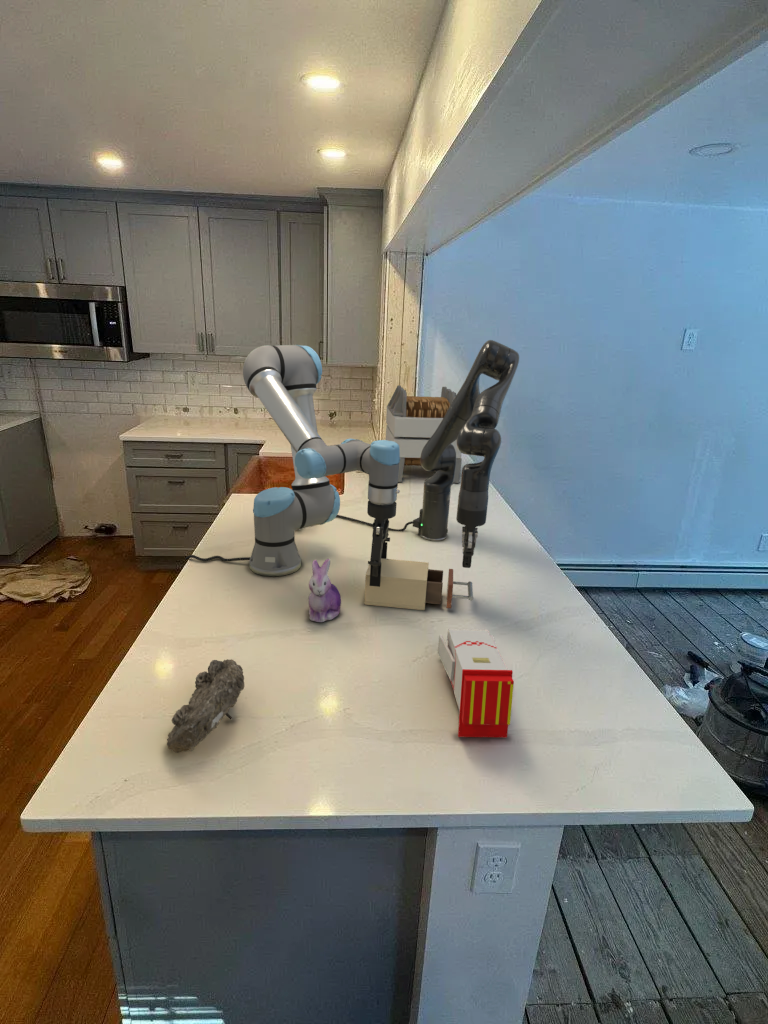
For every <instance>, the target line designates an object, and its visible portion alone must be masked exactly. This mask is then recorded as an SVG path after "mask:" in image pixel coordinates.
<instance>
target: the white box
mask: <svg viewBox="0 0 768 1024" xmlns="http://www.w3.org/2000/svg"><path fill="white" fill-rule="evenodd" d="M440 393H441V394H440V396H415V395H414V396H413V395H412V396H411V395H407V394H408V393H407V390H406V389H404V388H403V387H402V385H399V384H398V385H397V386H396V388H395V390H394V392H393V394H392V395H391V398H390V400H389V402H388V404H387V405H386V413H385V414H386V415H385V423H386V428H385V438H384V440H388V441H393V442H396V443H397V444H398V445H399V448H400V462H399V473H398V483H402V482H403V475H404V469H405V466H406V467H407V466H411V467H412V466H413V467H415V466H416V467H417V466H418V467H422V466H421V462H420V457H421V452H422V450H423V448H424V446H425V444H426V443H427V442H428V440H429V439H430V438H431V436H432V435H433V434H434V432H435V431H436V429H437V428H438V426H439V425H440V423H441V421H442V420H443V418H444V416H445V414H446V412H447V410H448V409H449V407H450V405H451V403H452V401H453V400H454V398H455V397H456V395H457V392H455V391H453V390H452V389H451V388H447V386H442V387H441V392H440ZM451 444H452V445H453V446H454V448H455V451H456V466H455V473H454V480H453V484H455V483H456V484H459V483H461V475H462V461H463V460H462V453H461V452H460V451H459V449H458V447H457V440H456V441H454V442H453V443H451Z"/></svg>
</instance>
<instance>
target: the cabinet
mask: <svg viewBox="0 0 768 1024" xmlns="http://www.w3.org/2000/svg"><path fill="white" fill-rule="evenodd" d="M429 565H430V563H429V562H425V561H415V560H405V559H404V560H403V559H394V558H393V559H392V558H386V559H382V558H381V580H380V587H377V586H370V567H371V565H370V564H368V567H367V569H366V573H365V580H364V605H366V606H367V605H368V606H377V607H387V608H399V609H407V610H408V609H409V610H418V611H425V610H426V603H425V599H426V586H427V576H428V569H429Z"/></svg>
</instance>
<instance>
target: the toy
mask: <svg viewBox="0 0 768 1024" xmlns="http://www.w3.org/2000/svg"><path fill="white" fill-rule="evenodd" d="M446 640H447V643H446V641H445V639H444V636H443V635H442V634H439V637H438V646H437V656H438V657H439V659H440V661H441V663H442V666H443V668H444V670H445V672H446V674H447V677H448V679H449V681H450V684H451V687H452V690H453V693H454V697H455V701H456V705H457V708H458V711H459V714H458V715H459V716H458V730H457V731H458V732H457V737H458V738H508V731H509V726H510V725H511V717H512V707H513V697H514V696H513V695H514V684H515V680H514V679H513V673H514V671H513V670H512V669H508V667H507V665H506V662H505V661H504V659H503V658H502V655H501V653H500V651H499V649H498V647H497V643H496V639H495V637H494V635H493V634H491V632H490V631H489V629H467V628H466V629H465V628H463V629H461V628H460V629H459V628H448V630H447V639H446Z"/></svg>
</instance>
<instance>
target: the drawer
mask: <svg viewBox="0 0 768 1024" xmlns="http://www.w3.org/2000/svg"><path fill="white" fill-rule="evenodd" d="M443 579H444V570H442V569H432V568H431V569H430V568H428V576H427V586H426V599H425V604H432V605H442V597H443V583H444V582H443ZM454 585H459V586H467V595H462V594H453V593H454V592H453V591H454ZM453 598H454V599H465V600H468V601H470V602H472V601H473V600H474V589H473V582H472V581H469V580H468V582H463V581H454V569H453V568H448V575H447V586H446V609H452V602H453Z"/></svg>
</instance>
